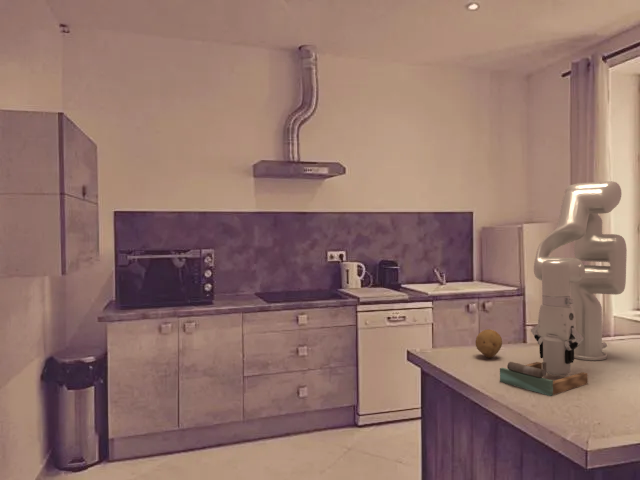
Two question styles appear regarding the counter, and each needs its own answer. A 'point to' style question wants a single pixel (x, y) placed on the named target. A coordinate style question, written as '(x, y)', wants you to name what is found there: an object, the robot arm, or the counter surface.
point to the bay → (539, 378)
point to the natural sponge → (488, 342)
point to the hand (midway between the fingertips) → (556, 359)
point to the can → (555, 355)
